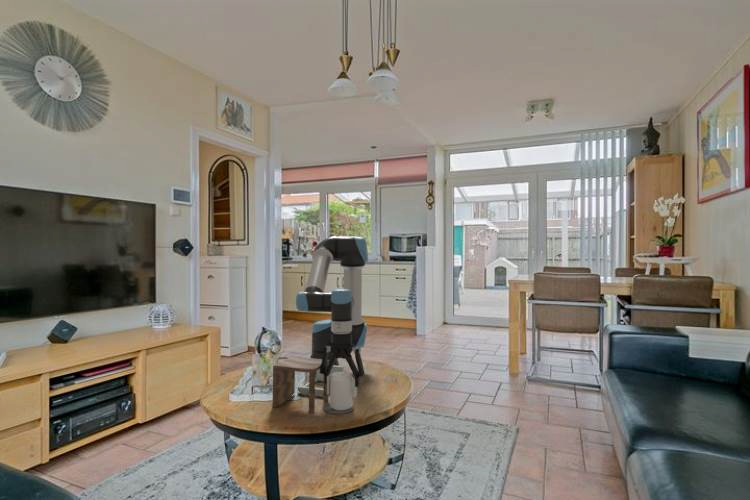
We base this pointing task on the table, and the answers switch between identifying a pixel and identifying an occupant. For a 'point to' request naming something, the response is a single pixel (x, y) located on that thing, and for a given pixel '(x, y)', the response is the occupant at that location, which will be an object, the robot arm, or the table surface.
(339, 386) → the beverage can
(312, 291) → the robot arm
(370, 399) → the table surface
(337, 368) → the grey blocky pieces
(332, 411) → the coaster
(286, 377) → the wooden step stool
